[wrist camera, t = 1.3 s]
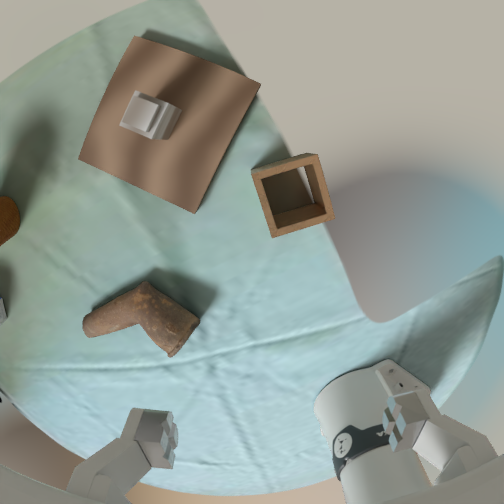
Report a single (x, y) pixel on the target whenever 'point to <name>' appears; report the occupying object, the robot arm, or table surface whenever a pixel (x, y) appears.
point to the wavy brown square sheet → (167, 121)
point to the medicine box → (2, 312)
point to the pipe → (144, 317)
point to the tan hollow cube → (301, 215)
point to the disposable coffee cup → (8, 219)
